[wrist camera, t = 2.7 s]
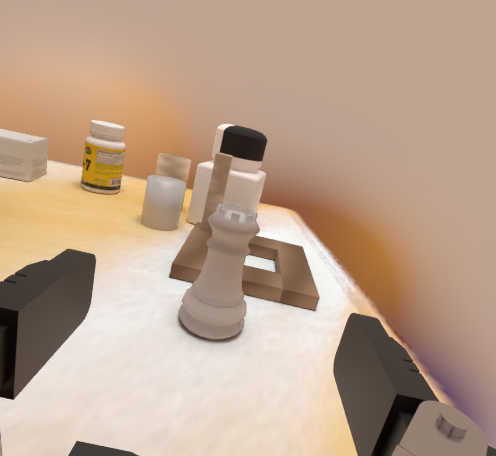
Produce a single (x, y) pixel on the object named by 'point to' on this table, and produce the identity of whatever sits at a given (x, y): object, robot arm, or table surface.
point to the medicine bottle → (232, 170)
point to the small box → (22, 155)
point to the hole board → (253, 279)
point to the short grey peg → (162, 202)
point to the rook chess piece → (221, 276)
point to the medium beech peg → (173, 167)
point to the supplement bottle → (103, 158)
